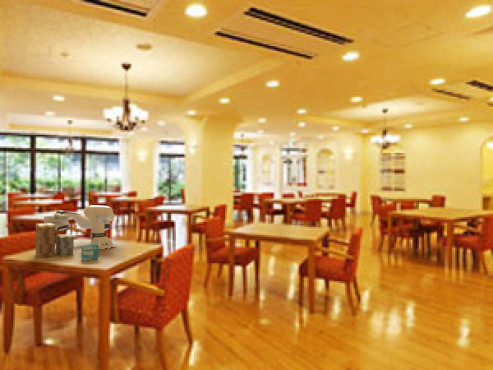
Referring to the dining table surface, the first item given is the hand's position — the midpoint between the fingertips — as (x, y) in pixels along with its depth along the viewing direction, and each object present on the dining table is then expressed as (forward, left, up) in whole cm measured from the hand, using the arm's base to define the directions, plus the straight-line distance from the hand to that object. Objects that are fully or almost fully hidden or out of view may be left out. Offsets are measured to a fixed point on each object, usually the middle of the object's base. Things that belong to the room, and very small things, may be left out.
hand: (58, 215), depth 316 cm
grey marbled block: (-1, +16, -31) cm, 35 cm away
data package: (-11, +47, -32) cm, 58 cm away
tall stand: (+14, +16, -31) cm, 38 cm away
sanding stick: (0, +4, -2) cm, 5 cm away
